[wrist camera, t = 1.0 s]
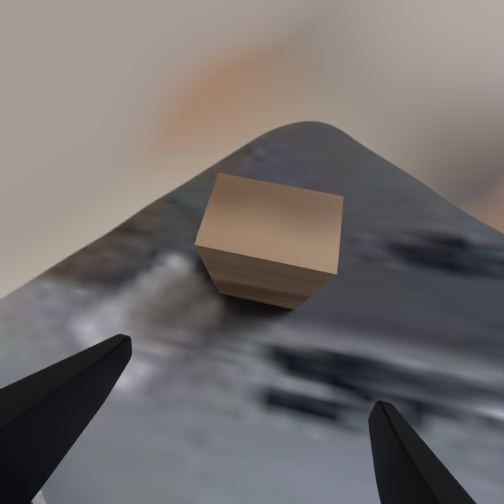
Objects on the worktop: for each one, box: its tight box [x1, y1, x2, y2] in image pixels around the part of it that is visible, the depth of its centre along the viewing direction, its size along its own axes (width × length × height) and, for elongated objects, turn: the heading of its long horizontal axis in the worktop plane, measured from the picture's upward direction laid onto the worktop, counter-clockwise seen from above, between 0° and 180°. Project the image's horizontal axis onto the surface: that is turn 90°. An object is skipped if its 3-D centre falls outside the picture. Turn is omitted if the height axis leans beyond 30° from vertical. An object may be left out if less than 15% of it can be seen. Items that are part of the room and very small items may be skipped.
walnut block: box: [194, 173, 343, 310], centre depth 18 cm, size 5×7×11 cm
